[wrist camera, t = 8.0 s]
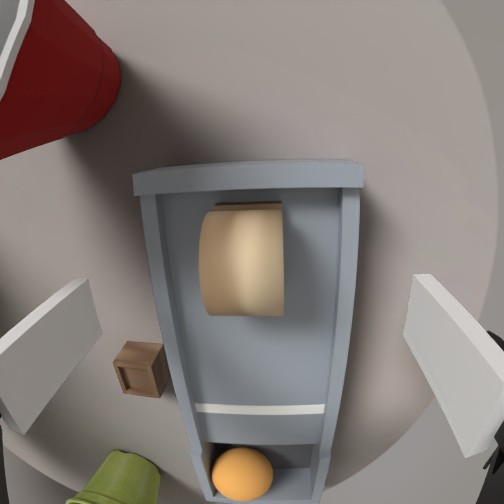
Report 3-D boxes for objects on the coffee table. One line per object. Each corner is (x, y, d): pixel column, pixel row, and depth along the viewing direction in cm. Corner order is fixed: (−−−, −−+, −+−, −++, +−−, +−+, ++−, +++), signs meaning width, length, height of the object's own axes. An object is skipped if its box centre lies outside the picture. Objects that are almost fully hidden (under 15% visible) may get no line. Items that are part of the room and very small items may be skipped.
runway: (212, 468, 26) (206, 500, 22) (161, 167, 17) (131, 174, 13) (317, 470, 25) (319, 503, 21) (344, 159, 16) (363, 164, 12)
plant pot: (86, 455, 28) (59, 508, 20) (109, 427, 25) (74, 494, 17) (154, 493, 29) (136, 548, 21) (191, 472, 26) (173, 541, 18)
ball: (215, 433, 24) (227, 464, 25) (196, 478, 19) (212, 505, 21) (274, 437, 23) (280, 468, 24) (262, 487, 18) (270, 513, 19)
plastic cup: (198, 31, 14) (93, -92, 3) (115, 196, 18) (-44, 269, 7) (68, -3, 13) (-53, -57, 2) (8, 134, 17) (-127, 157, 6)
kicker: (223, 288, 16) (206, 336, 12) (216, 203, 15) (193, 226, 11) (282, 288, 16) (283, 336, 12) (281, 200, 15) (283, 223, 11)
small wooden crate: (136, 371, 22) (123, 393, 20) (127, 341, 21) (112, 362, 19) (170, 374, 22) (160, 398, 19) (163, 344, 21) (150, 366, 18)
